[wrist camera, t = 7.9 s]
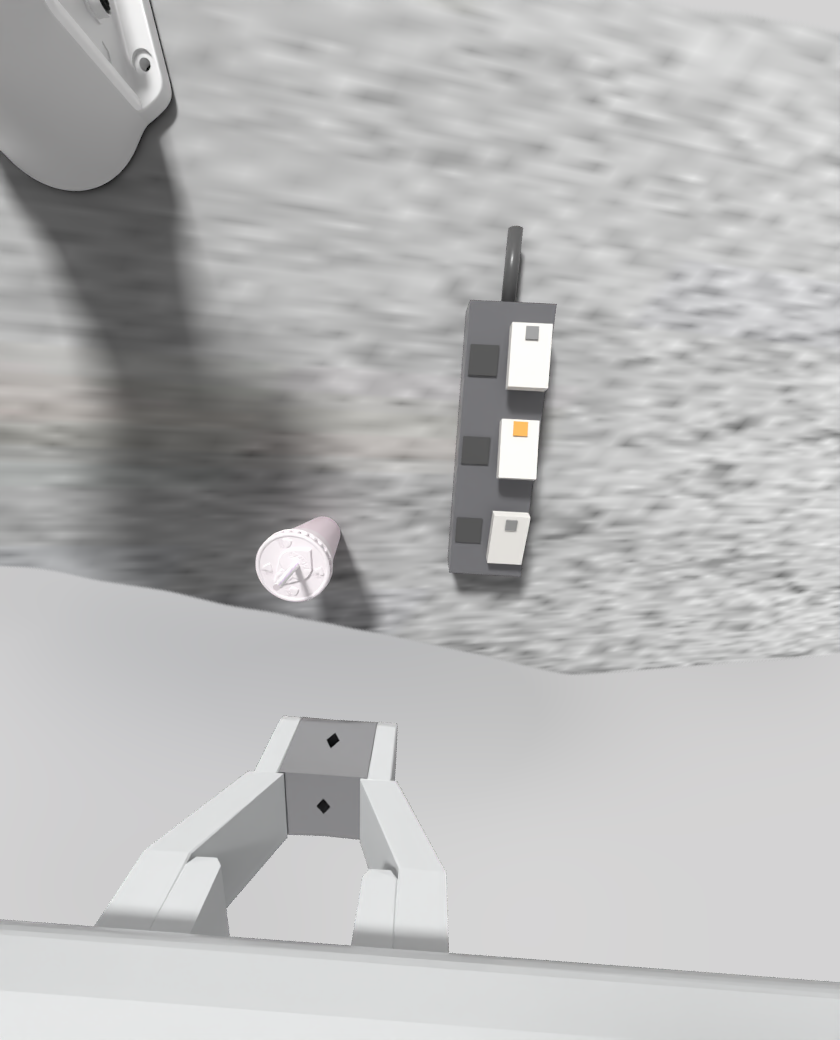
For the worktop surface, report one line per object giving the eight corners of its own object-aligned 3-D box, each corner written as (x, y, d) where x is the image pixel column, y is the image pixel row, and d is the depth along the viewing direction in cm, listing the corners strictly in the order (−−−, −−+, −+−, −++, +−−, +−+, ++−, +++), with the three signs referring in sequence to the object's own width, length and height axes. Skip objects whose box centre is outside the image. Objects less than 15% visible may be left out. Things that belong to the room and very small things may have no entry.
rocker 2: (499, 421, 34) (502, 418, 33) (536, 423, 34) (540, 420, 33) (496, 478, 34) (498, 477, 33) (532, 480, 34) (536, 479, 33)
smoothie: (365, 533, 41) (333, 593, 28) (326, 571, 43) (277, 646, 29) (320, 491, 40) (265, 533, 27) (281, 532, 42) (209, 591, 28)
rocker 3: (492, 510, 35) (494, 516, 34) (528, 512, 35) (531, 518, 34) (485, 556, 37) (487, 563, 36) (519, 558, 37) (521, 565, 36)
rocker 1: (509, 327, 32) (512, 321, 30) (548, 329, 32) (553, 322, 30) (505, 389, 32) (508, 385, 31) (544, 391, 32) (548, 387, 31)
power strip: (471, 235, 33) (476, 211, 29) (552, 238, 33) (569, 215, 29) (447, 557, 42) (449, 573, 38) (512, 561, 42) (521, 577, 38)
